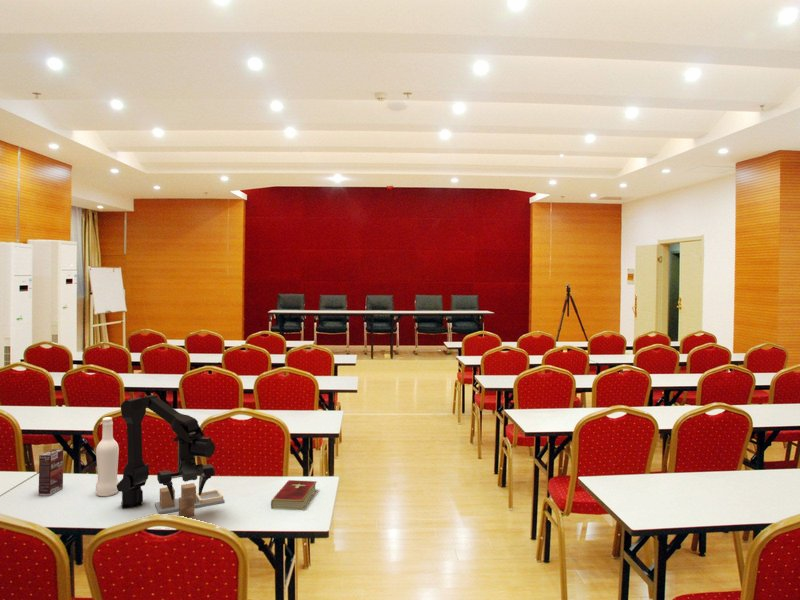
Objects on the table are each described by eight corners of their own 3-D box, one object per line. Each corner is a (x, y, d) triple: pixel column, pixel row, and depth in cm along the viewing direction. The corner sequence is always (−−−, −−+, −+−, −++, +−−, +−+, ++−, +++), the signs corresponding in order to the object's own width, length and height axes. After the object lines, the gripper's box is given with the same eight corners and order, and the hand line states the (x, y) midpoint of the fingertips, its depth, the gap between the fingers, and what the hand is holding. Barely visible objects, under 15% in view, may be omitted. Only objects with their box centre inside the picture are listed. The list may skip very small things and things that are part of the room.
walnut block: (180, 518, 196) (181, 501, 196) (178, 514, 200) (178, 497, 200) (194, 516, 199) (194, 499, 198) (191, 511, 202) (191, 495, 202)
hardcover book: (270, 509, 206) (270, 498, 206) (287, 489, 227) (287, 479, 227) (302, 511, 205) (302, 500, 205) (316, 491, 226) (316, 480, 226)
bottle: (123, 490, 223) (123, 415, 222) (110, 497, 215) (111, 420, 214) (104, 489, 224) (104, 414, 223) (91, 496, 216) (91, 419, 215)
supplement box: (50, 496, 215) (50, 455, 215) (37, 496, 215) (38, 455, 215) (64, 488, 224) (64, 449, 224) (52, 488, 224) (52, 449, 224)
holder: (158, 514, 199) (158, 495, 199) (155, 505, 208) (155, 486, 208) (224, 502, 211) (224, 484, 211) (218, 494, 220) (218, 476, 220)
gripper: (161, 464, 187) (161, 510, 188) (218, 456, 197) (218, 500, 197) (157, 455, 197) (156, 499, 197) (211, 448, 206) (211, 490, 207)
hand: (186, 497), depth 199 cm, fingers open, 9 cm apart
